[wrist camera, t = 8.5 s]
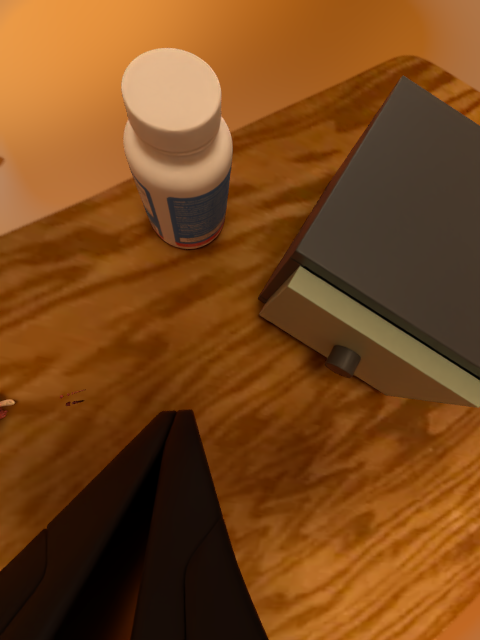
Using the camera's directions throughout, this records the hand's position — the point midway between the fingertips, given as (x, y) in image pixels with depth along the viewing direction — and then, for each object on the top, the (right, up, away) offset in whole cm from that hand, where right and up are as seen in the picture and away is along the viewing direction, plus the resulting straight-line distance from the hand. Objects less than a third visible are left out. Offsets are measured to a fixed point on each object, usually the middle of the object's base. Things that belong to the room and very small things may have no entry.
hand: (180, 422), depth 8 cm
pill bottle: (-2, +10, +14) cm, 17 cm away
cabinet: (+11, +6, +14) cm, 19 cm away
